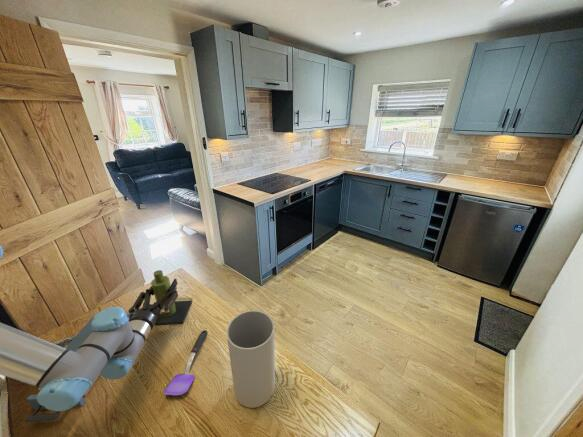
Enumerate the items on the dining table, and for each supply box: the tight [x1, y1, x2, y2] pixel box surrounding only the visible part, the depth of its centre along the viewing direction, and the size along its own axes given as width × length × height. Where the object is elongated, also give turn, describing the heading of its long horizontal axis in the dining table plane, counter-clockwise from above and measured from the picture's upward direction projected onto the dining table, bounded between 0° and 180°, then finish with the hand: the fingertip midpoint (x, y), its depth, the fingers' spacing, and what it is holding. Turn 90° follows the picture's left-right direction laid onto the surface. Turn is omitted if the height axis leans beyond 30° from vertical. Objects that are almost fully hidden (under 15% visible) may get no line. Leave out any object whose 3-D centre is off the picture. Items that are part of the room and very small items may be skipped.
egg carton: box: [52, 333, 78, 348], centre depth 82 cm, size 11×8×4 cm
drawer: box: [25, 373, 101, 423], centre depth 70 cm, size 19×12×6 cm, turn 5°
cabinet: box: [65, 313, 133, 352], centre depth 83 cm, size 16×14×8 cm
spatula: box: [163, 329, 208, 396], centre depth 80 cm, size 24×7×2 cm, turn 177°
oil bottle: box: [150, 269, 176, 317], centre depth 95 cm, size 6×6×20 cm
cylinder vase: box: [226, 310, 276, 409], centre depth 69 cm, size 12×12×25 cm
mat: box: [153, 300, 193, 326], centre depth 99 cm, size 16×12×1 cm
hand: (167, 281), depth 99 cm, fingers closed on oil bottle, 6 cm apart
